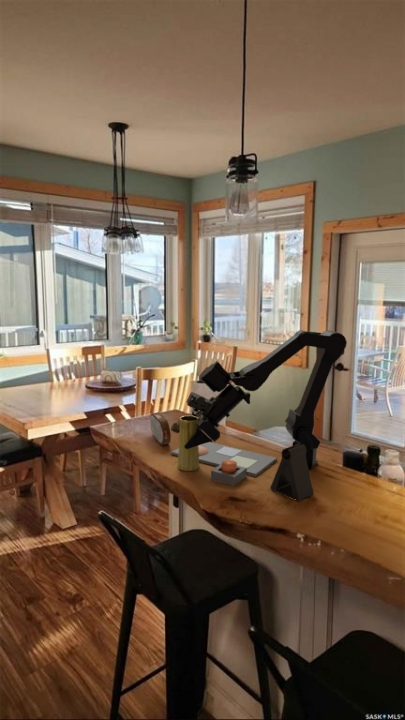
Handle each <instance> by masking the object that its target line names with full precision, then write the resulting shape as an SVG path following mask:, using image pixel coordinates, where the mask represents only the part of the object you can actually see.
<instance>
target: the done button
mask: <svg viewBox="0 0 405 720" xmlns="http://www.w3.org/2000/svg"><path fill="white" fill-rule="evenodd" d="M236 471H237V462H235V461H233V460H224V461H222V472H226V473H235V472H236Z"/></svg>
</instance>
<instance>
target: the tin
mask: <svg viewBox="0 0 405 720" xmlns="http://www.w3.org/2000/svg"><path fill="white" fill-rule="evenodd" d="M149 416H150V417H149V418H150V430H151V433H152V436H153V437H154V438H155V440H156V441H157V442H158V443H159V444H160V445H170V443H171V436H172V434H171V428H170V424H169V422H168V419H167V418H166V417H165V416H164V415H163V414H162V413H161V412H160V411H157V412H152V413H151V414H150V415H149Z"/></svg>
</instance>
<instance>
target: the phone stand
mask: <svg viewBox="0 0 405 720" xmlns="http://www.w3.org/2000/svg"><path fill="white" fill-rule="evenodd" d="M299 445H300V443H299V444H297V445H294V446H292V445H291V446H288V447H285V448H283V449H282V450H281V460H280V462H279V465H278V468H277V470H276V472H275V476H274V477H273V479H272V483H271V485H270V487H269V488H270V490H271V491H274V492H276V491H277V492H276V493H278V492H279V493H278V494H280V493H281V494H280V495H283V496H285V495H286V496H285V497H287V496H288V497H287V498H289V497H291V498H293V499H292V500H294V499H296V500H298V501H297V502H301V501H302V499H303V500H305V499H307V498H309V497H311V496H313V495H314V494H315V492H314V487H313V483H312V478H311V474H310V469H308V465H307V460H306V447H305V445H304V444H303V445H300V446H299ZM308 496H309V497H308ZM306 497H307V498H306ZM291 498H290V499H291ZM304 498H305V499H304ZM296 500H295V501H296Z"/></svg>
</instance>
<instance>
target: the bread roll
mask: <svg viewBox="0 0 405 720" xmlns="http://www.w3.org/2000/svg"><path fill="white" fill-rule="evenodd" d="M185 416H192V413H191V414H189V415H187V414H186V415H185ZM170 426H171V428H170V430H172V431H175V432H179V430H180V418H179V419H178V420H177V421H175V422H173V424H172V425H170Z"/></svg>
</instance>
